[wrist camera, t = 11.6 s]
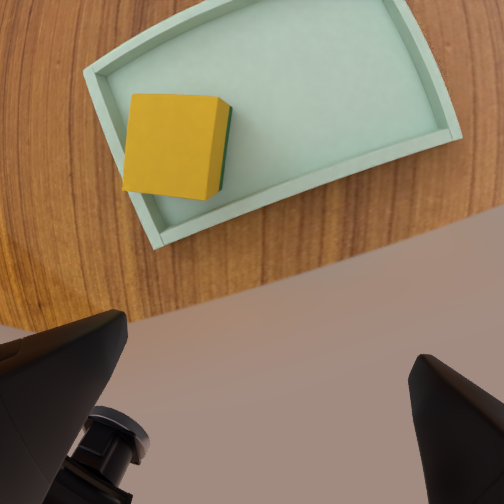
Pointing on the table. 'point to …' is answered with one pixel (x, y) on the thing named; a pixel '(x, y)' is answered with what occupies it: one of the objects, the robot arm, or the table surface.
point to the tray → (280, 97)
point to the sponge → (176, 145)
